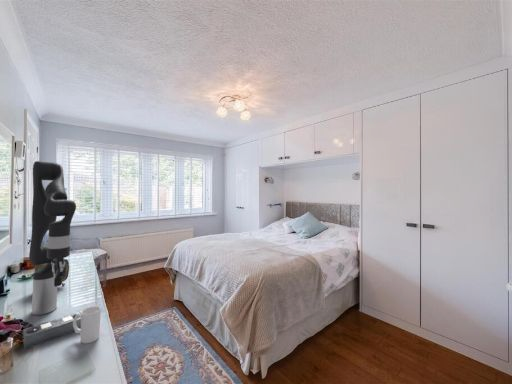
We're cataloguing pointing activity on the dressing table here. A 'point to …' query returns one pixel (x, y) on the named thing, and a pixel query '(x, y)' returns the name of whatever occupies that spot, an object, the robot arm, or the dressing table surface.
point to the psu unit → (49, 330)
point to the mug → (88, 324)
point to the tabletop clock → (64, 272)
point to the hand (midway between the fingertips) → (57, 285)
